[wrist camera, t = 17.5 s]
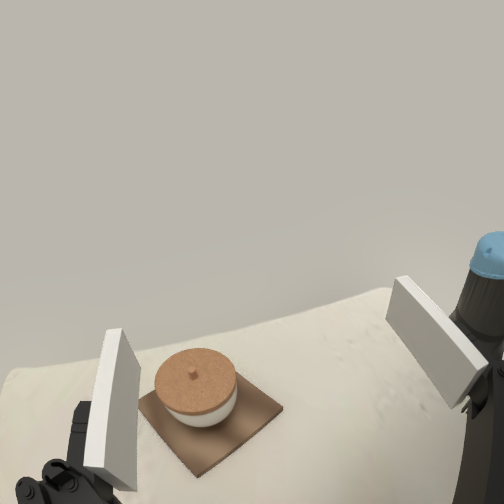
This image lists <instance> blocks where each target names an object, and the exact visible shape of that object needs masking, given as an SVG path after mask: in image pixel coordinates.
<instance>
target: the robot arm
mask: <svg viewBox="0 0 504 504" xmlns="http://www.w3.org/2000/svg"><path fill="white" fill-rule="evenodd" d="M386 320H387V322H388V323H389V324H390V326H391V327H392V328H393V330H394V331H395V332H396V333H397V335H398V336H399V337H400V339H401V340H402V341H403V343H404V344H405V345H406V347H407V348H408V349H409V351H410V352H411V353H412V355H413V356H414V358H415V359H416V360H417V362H418V363H419V364H420V366H421V367H422V369H423V370H424V371H425V373H426V374H427V376H428V377H429V378H430V380H431V381H432V383H433V384H434V386H435V387H436V388H437V390H438V391H439V393H440V394H441V396H442V397H443V399H444V400H445V401H446V403H447V404H448V406H449V407H450V409H452V408H453V407H455V406H457V405H458V404H460V403H462V402H463V400H464V399H465V398H466V396H467V395H469V397H470V399H469V401H468V402H467V403H466V405H465V406H464V407H463V408H462V411H461V413H463V412H464V411H465V410H466V409H467V407H468V410H467V412H466V413H467V423H466V433H465V441H464V448H463V455H462V461H461V467H460V472H459V477H458V482H457V487H456V491H455V495H454V499H453V503H452V504H504V360H502V356H503V352H504V232H503V231H501V232H500V231H499V232H492V233H488V234H486V235H485V236H483V237H482V238H481V239H480V240H479V242H478V244H477V247H476V250H475V253H474V256H473V257H472V259H471V261H470V270H469V273H468V276H467V279H466V282H465V284H464V288H463V290H462V293H461V295H460V298H459V301H458V304H457V306H456V309H455V310H454V311H453V313H452V314H451V315H450V316H449V317H447V315H446V314H445V313H444V312H443V311H442V310H441V309H440V308H439V307H438V306H437V305H436V304H435V303H434V302H433V301H432V300H431V299H430V298H429V297H428V296H427V295H426V294H425V293H424V292H423V291H422V290H421V289H420V288H419V287H418V286H417V285H416V284H415V283H414V282H413V281H412V280H411V279H410V278H409V277H408V276H407V275H405V276H401V277H398V278H395V282H394V286H393V290H392V295H391V299H390V303H389V307H388V311H387V315H386ZM140 372H141V367H140V365H139V363H138V361H137V359H136V357H135V355H134V353H133V351H132V349H131V347H130V344H129V342H128V340H127V338H126V336H125V334H124V332H123V329H122V328H119V329H109V330H107V331H106V336H105V339H104V343H103V348H102V352H101V356H100V361H99V366H98V370H97V375H96V380H95V386H94V391H93V396H92V401H80V402H79V404H78V406H77V407H76V409H75V411H74V415H73V420H72V423H73V424H72V426H71V433H70V438H69V445H68V452H67V460H66V461H64V460H61V459H52V460H50V461H48V462H47V463H46V464H45V465H44V468H43V470H42V479H43V481H36V480H34V479H33V478H30V477H23V478H21V479H19V481H18V482H17V484H16V488H15V490H16V497H17V500H18V504H122V503H121V502H120V501H119V500H118V499H117V497H116V496H115V495H113V487H114V488H116V489H117V490H119V491H134V492H137V421H138V400H139V385H140Z"/></svg>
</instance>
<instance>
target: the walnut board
mask: <svg viewBox="0 0 504 504" xmlns="http://www.w3.org/2000/svg"><path fill="white" fill-rule="evenodd" d="M236 377H237V398H236V402H235V405H234V407H233V409H232V411H231V412H230V414H229V415H228V416H227V417H226V418H225V419H224V420H222V421H221V422H219V423H217V424H215V425H212V426H208V427H193V426H189V425H187V424H184V423H182V422H180V421H179V420H177V419H176V418H175V417H174V416H172V415H171V414H170V413H169V411H168V410H167V409H166V408H165V406H164V404H163V403H162V402H161V400H160V399H159V397H158V395H157V393H156V390H153V391H152V392H150V393H148V394H147V395H145V396H144V397H142V398H140V399H139V400H138V408H139V409H140V410H141V412H142V413H143V414H144V416H145V417H146V418H147V420H148V421H149V422H150V424H151V425H152V426H153V427H154V429H155V430H156V431H157V432H158V434H159V435H160V436H161V437H162V439H163V440H164V441H165V442H166V443H167V445H168V446H169V447H170V448H171V449H172V450H173V452H174V453H175V454H176V455H177V456H178V457H179V458H180V460H181V461H182V462H183V463H184V464H185V465H186V466H187V467H188V468H189V469H190V470H191V472H192V473H193V474H194V475H195V476H196V477H197V478H199V477H200V476H201V475H203V474H204V473H206V472H207V471H208V470H210V469H211V468H213V467H214V466H215V465H217V464H218V463H219V462H221V461H222V460H223V459H225V458H226V457H227V456H229V455H230V454H231V453H233V452H234V451H235V450H236V449H238V448H239V447H240V446H241V445H243V444H244V443H245V442H246V441H248V440H249V439H250V438H251V437H253V436H254V435H255V434H256V433H257V432H259V431H260V430H261V429H262V428H263V427H264V426H266V425H267V424H268V423H269V422H270V421H271V420H272V419H274V418H275V417H276V416H277V415H278V414H279V413H280V412H281V411H283V406H281V405H280V404H279V403H277V402H276V401H274V400H273V399H272V398H270V397H269V396H268V395H266V394H265V393H263V392H262V391H261V390H259V389H258V388H257V387H255V386H254V385H253V384H251V383H250V382H249V381H248V380H246V379H245V378H244V377H242V376H241V375H240V374H238V373H237V372H236Z"/></svg>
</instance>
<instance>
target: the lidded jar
mask: <svg viewBox="0 0 504 504" xmlns="http://www.w3.org/2000/svg"><path fill="white" fill-rule="evenodd" d="M155 390H156V393H157V395H158V397H159V399H160V400H161V402H162V403H163V404H164V406H165V408H166V409H167V410H168V411H169V413H170V414H171V415H172V416H174V417H175V418H176V419H177V420H179V421H180V422H182V423H184V424H187V425H189V426H193V427H208V426H212V425H215V424H217V423H219V422H221V421H222V420H224V419H225V418H226V417H227V416H228V415H229V414H230V412H231V411H232V409H233V407H234V405H235V402H236V398H237V377H236V371H235V368H234V366H233V364H232V363H231V361H230V360H229V359H228V358H227V357H226V356H224V355H223V354H221V353H219V352H217V351H214V350H211V349H204V348H195V349H188V350H184V351H181V352H179V353H176V354H174V355H173V356H171V357H170V358H168V359H167V360H166V361H165V362H164V363H163V364H162V365H161V366H160V368H159V370H158V371H157V374H156V377H155Z"/></svg>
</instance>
